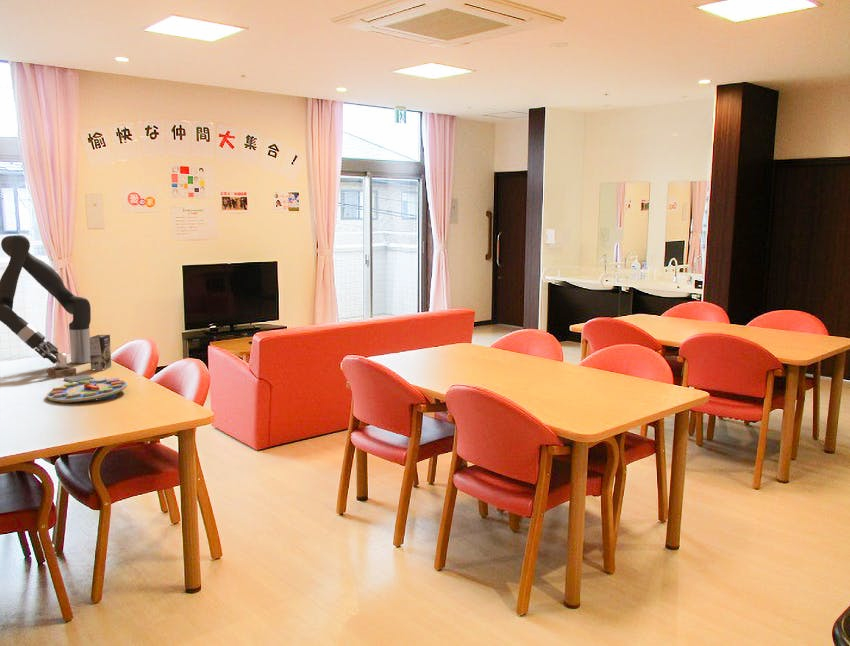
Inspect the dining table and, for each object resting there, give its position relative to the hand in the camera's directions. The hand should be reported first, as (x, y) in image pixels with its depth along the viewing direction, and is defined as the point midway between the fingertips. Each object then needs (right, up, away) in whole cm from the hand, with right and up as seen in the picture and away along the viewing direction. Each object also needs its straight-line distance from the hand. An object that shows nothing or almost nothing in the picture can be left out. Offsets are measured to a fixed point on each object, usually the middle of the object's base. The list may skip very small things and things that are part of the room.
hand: (59, 360), depth 337 cm
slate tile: (+13, -8, -9) cm, 18 cm away
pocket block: (+1, -7, +1) cm, 7 cm away
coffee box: (+12, -5, +16) cm, 21 cm away
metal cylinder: (+1, -7, +1) cm, 7 cm away
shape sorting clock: (+30, -13, -35) cm, 48 cm away
